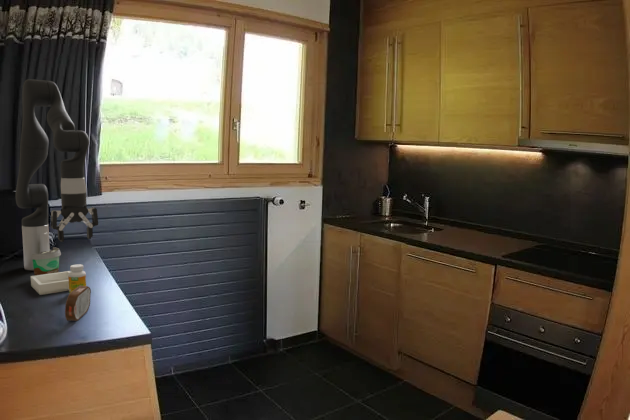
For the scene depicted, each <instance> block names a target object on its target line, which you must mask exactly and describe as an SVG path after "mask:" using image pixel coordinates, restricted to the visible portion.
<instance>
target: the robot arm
mask: <svg viewBox="0 0 630 420" xmlns="http://www.w3.org/2000/svg"><path fill="white" fill-rule="evenodd" d="M21 94H22V100H21V101H22V123H21V125H22V126H21V132H20V133H21V135H20V143H19V144H20V145H19V165H18V166H19V167H18V176H17V181H16V187H15V203H16V206H17V207H18V208H19V209H36V210H35V211H34V212H33V213H31V214H29V215H26V216H24V217H22V219H21V232H22V233H21V234H22V247H23V249H22V251H23V266H24V267H23V268H24V270H25V271H34V268H33V260H32V259H31V255H32V254H39V253H41V252H44V251H50V250H51V249H50V247H51V246H50V232H49V191H48V187H47V186H46V185H45V184H44V183H33V184H32V183H31V184H30V182H31V179H32V177H33V176H34V174H35V173H36V172H37V171H38V170H39V168H40V167H41V166H42V165H43V164H44V163H45V161H46V160H47V157H48V155H49V153H48V152H49V144H50V142H49V137H48V135H47V133H46V132H45V130H44V128H43V127H42V126H41V124H40V122H39V121H38V119H37V117H36V113H35V107H46V108H47V107H50V108H49V110H48V111H47V114H46V121H47V125H48V126H49V129H51V132H52V135H53V139H52V141H53V147H54V148H55V150H57V151H58V152H61V153H75V154H74V155H73V157H71V158H68V159H67V158H66V159H64V160H61V162H60V199H61V200H60V201H61V209H60V210H54V209H52V210H51V211H50V228H51V229H53V230H57V239H58V241H60V242H61V243H64V242H65V232H64V231H65V230H63V229H64V228H65V227H66V226H67V225H68V224H69V223H73V224H74V223H84V224H85V225H86V239H88V240H92V238H93V236H94V232H93V229H94V227H96V226H98V225H99V215H98V209H97V208H96V207H94V206H93V207H90V208H88V207H87V205H88V203H87V187H86V186H87V185H86V184H87V183H86V177H85V163H86V158H87V153H88V149H89V146H90V138H89V135H88V133H86V131H84V130H79V129H77V130H76V126H75V123H74V122H73V121H72V119H71V117H70V115H69V114H68V111H67V110H66V107H65V103H64V101H63V98H62V94H61V92H60V89H59V87H58V85H57V83H55V82H54V81H52V80H47V79H46V80H43V79H33V78H32V79H26V80H24V82H23V85H22V93H21ZM87 214H90V215H91V220H92V221H91V222H90V220H89V219H88V218H87ZM60 215H61V217H62V219H61V221H59V222H60V223H59V224H58V218H59V217H60Z"/></svg>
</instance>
